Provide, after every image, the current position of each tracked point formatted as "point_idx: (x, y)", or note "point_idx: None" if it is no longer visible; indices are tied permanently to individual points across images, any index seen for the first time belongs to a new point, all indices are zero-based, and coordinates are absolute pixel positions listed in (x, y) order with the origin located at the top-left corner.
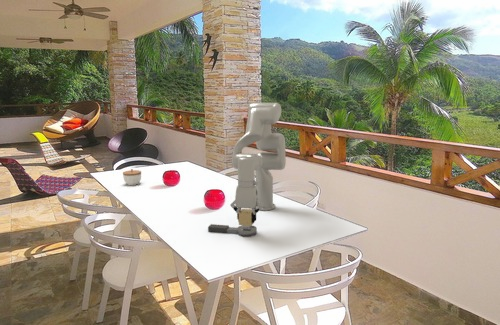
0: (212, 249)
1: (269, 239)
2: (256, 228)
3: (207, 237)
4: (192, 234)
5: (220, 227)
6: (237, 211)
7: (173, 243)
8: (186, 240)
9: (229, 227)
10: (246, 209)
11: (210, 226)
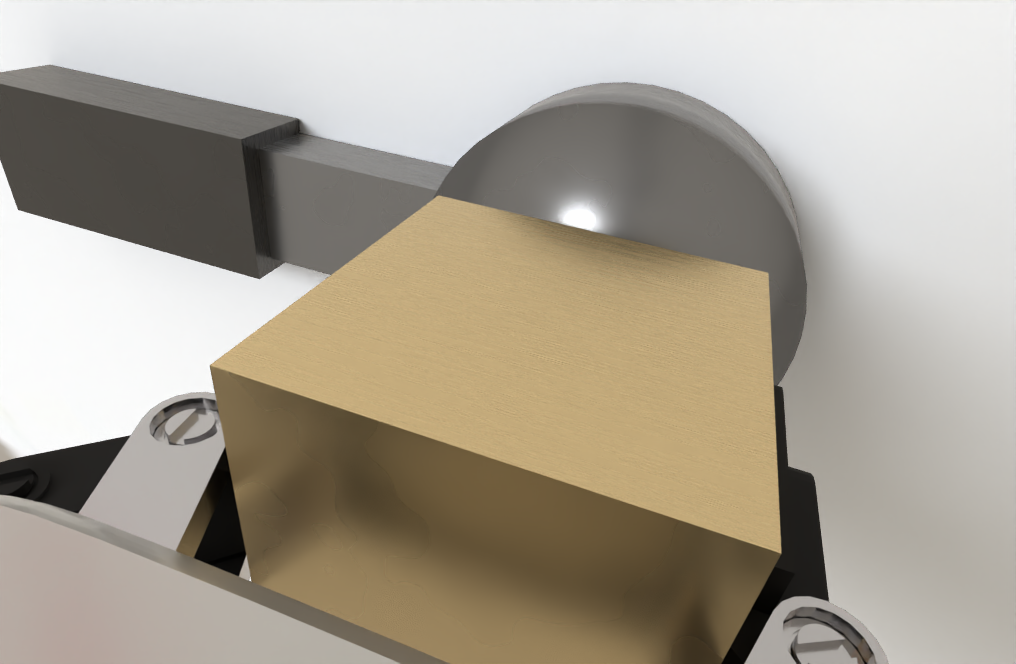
0: None
1: (999, 535)
2: (800, 335)
3: (175, 363)
4: (2, 268)
5: (169, 238)
6: (201, 557)
7: (25, 452)
8: (62, 410)
9: (280, 174)
10: (402, 482)
11: (30, 190)
